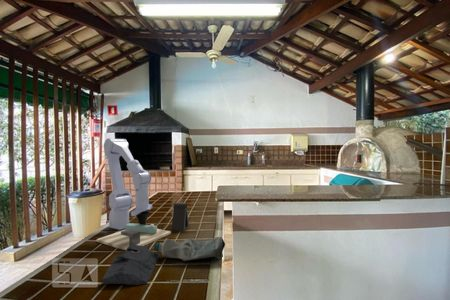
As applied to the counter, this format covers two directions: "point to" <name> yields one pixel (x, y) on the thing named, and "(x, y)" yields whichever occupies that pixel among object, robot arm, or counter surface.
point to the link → (142, 228)
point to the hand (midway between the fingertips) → (142, 227)
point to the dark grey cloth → (132, 266)
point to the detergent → (191, 248)
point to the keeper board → (125, 239)
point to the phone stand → (180, 216)
